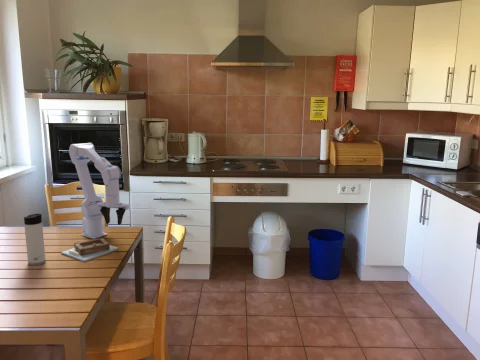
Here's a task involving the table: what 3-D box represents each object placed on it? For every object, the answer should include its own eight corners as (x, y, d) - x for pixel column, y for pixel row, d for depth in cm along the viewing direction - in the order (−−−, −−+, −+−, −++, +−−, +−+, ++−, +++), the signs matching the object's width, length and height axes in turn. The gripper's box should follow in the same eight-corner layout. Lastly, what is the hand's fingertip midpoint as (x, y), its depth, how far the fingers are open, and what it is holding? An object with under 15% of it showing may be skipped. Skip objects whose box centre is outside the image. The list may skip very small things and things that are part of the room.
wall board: (61, 253, 175) (61, 249, 174) (95, 242, 189) (95, 238, 188) (84, 262, 167) (83, 257, 166) (117, 249, 181) (117, 244, 180)
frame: (74, 248, 178) (74, 240, 177) (102, 242, 185) (102, 235, 184) (80, 255, 171) (80, 247, 170) (109, 249, 178) (109, 241, 177)
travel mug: (39, 266, 162) (35, 217, 158) (24, 265, 163) (19, 216, 159) (49, 260, 168) (45, 212, 164) (35, 259, 169) (30, 211, 165)
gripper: (131, 192, 185) (133, 222, 188) (101, 191, 187) (103, 219, 190) (124, 196, 178) (125, 227, 181) (93, 194, 181) (95, 224, 183)
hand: (113, 223), depth 185 cm, fingers open, 5 cm apart
